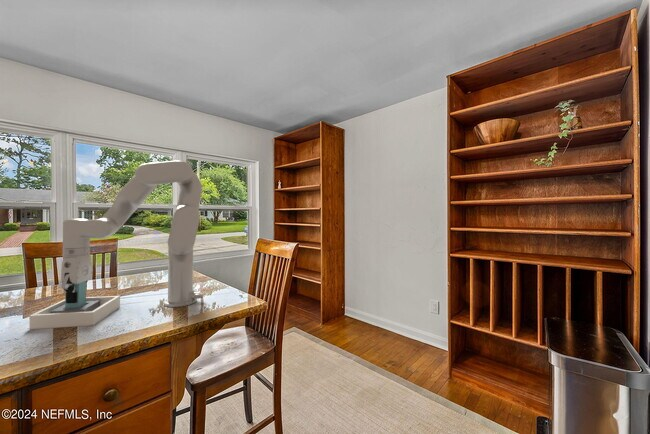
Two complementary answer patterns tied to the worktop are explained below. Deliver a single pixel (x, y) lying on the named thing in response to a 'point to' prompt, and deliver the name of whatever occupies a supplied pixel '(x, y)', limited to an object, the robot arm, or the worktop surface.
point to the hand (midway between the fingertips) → (76, 300)
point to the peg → (78, 296)
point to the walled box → (74, 313)
